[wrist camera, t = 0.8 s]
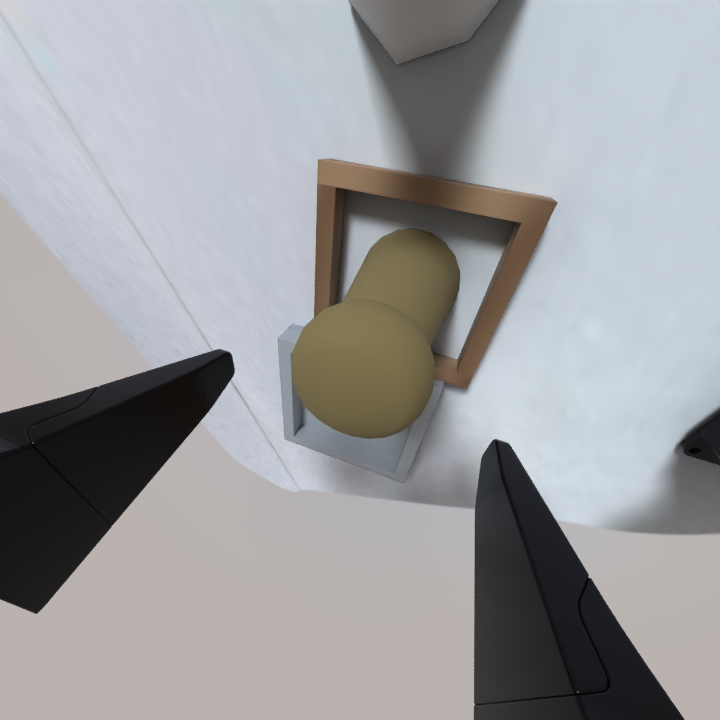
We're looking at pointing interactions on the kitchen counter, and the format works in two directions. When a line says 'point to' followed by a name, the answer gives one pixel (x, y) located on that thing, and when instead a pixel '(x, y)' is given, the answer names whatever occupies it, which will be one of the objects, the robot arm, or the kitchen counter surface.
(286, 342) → the tray
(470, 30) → the flask
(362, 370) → the cork
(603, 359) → the kitchen counter surface
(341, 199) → the wooden picture frame
